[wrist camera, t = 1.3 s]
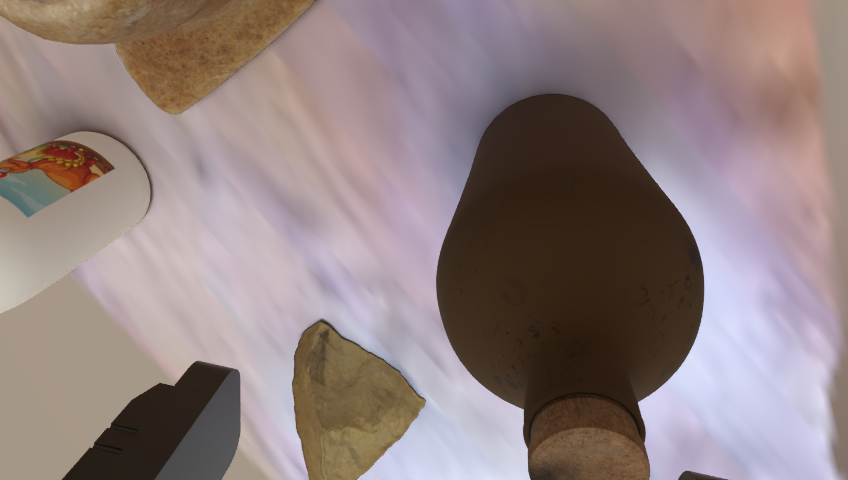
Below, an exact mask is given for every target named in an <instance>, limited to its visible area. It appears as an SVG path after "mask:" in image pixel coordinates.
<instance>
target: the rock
mask: <svg viewBox="0 0 848 480" xmlns="http://www.w3.org/2000/svg"><path fill="white" fill-rule="evenodd" d="M292 391H293V395H294V404H295V405H294V411H295V420H296V429H297V433H298V435H299V438H300V439H301V444H302V451H303V455H304V460H305V464H306V468H307V471H308V476H309V480H357V479H358V478H359V477H360V476H361V475H363V474H364V473H365V472H367V471H368V470H369V469H370V468H371V467H372V466H373V465H374V463H375V462H376V461H377V460H378V459H379V458H380V457H381V456H382V455H384V453H385V452H386V450H387V449H388V448H390V447H391V446H392V445H393V444H394V443H395V442H397V441H398V440H400V439H401V437H402V436H403V435H404V433H405V432H406V431H407V429H408V428H409V426H410V424H411V423H412V422H413V421H414V420H415V419H416V418H417V417H418V414H419V412H420V410H421V409H422V408H424V406H425V402H426V401H425V399H423V398H421V397H419V396H418V395H417V394H416V393H415V392H414V391H413V389H412V388H411V387H410V386H409V385H408V383H407V381H406V380H405V379H404V378H403V377H402V376H401V375H400V372H399V371H397V370H395V369H393V368H392V367H391V366H389V365H388V364H387V363H385V361H383V360H382V359H379V358H377V357H376V356H375V355H373V354H371V353H367V352H366V351H364V350H363V349H361V348H360V347H359V346H358V345H356V344H354V343H352V342H350V341H346V340H344V339H342V338H341V337H340V336H339V335H338V334H337V333H336V332H335V331H333V330H332V328H331V327H329V326H328V325H326V324H324V323H322V322H319V323H317V324H315V325H314V326H313V327H310V328H309V329H307V330H306V331H305V332H304V333H303V334H302V336H301V338H300V340H299V343H298V347H297V349H296V351H295V355H294V378H293V381H292Z"/></svg>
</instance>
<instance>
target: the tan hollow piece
mask: <svg viewBox="0 0 848 480" xmlns="http://www.w3.org/2000/svg"><path fill="white" fill-rule="evenodd" d="M314 1H315V0H0V15H1V16H2V17H4V18H5V19H7V20H9V21H10V22H12V23H13V24H15V25H16V26H18V27H20V28H22V29H24V30H26V31H28V32H31V33H33V34H35V35H37V36H39V37H41V38H43V39H47V40H52V41H58V42H63V43H69V44H110V43H115V47H116V51H117V54H118V55H119V57H120V58H121V60H122V62H123V63H124V65H125V67H126V69H127V71H128V72H129V74H130V75H131V77H132V78H133V79H134V80H135V81H136V82H137V84H138V85H139V87H140V88H141V90H142V91H143V92H144V93H145V94H146V95H147V96H148V97H149V98H150V99H151V100H152V102H154V103H155V104H156V105H157V106H158V107H159V108H160V109H162V110H163V111H165V112H167V113H170V114H175V115H177V114H181V113H182V112H184V111H185V110H187V109H188V108H190V107H191V106H193V105H194V104H195V103H197V102H198V101H200V100H201V99H202V98H203V97H204V96H206V95H208V94H209V93H210V92H212V91H213V90H214V89H216V88H217V87H218V86H220V85H221V84H222V83H223V82H225V81H226V80H227V79H228V78H229V77H231V76H232V75H233V74H234V73H235V72H236V71H237V70H238V69H239V68H240V67H242V66H243V65H245V64H246V63H247V62H249V61H250V60H251V59H252V58H254V57H255V56H256V55H257V54H259V53H260V52H261V51H262V50H263V49H264V48H266V47H267V46H268V45H269V44H270V43H272V42H273V41H274V40H275V39H276V38H277V37H278V36H279V35H280V34H281V33H282V32H283V31H284V30H286V29H287V28H288V27H289V26H290V25H291V24H292V23H293V22H294V21H295V20H296V19H298V18H299V17H300V16H301V15H302V14H303V13H304V12H305V11H306V10H307V9H308V8H309V7H310V6H311V5H312V4H313V2H314Z"/></svg>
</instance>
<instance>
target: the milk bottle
mask: <svg viewBox="0 0 848 480" xmlns="http://www.w3.org/2000/svg"><path fill="white" fill-rule="evenodd" d="M150 194H151V191H150V183H149V180H148V177H147V174H146V172H145V170H144V168H143V166H142V164H141V163H140V162H139V160H138V159H137V157H136V156H135V155H134V154H133V153H132V152H131V151H130V150H129V149H128V148H127V147H126V146H124V145H123V144H121V143H120V142H119V141H117V140H115V139H113V138H111V137H109V136H106V135H103V134H100V133H95V132H88V131H80V132H75V133H71V134H68V135H65V136H62V137H60V138H57V139H55V140H52V141H50V142H47V143H45V144H42V145H40V146H37V147H35V148H32V149H30V150H28V151H25V152H23V153H20V154H18V155H15V156H13V157H10V158H8V159H6V160H3V161H1V162H0V313H2V312H4V311H7V310H9V309H12V308H14V307H16V306H18V305H19V304H21V303H23V302H25V301H27V300H28V299H30V298H31V297H33V296H35V295H36V294H38V293H39V292H41V291H42V290H44V289H45V288H47V287H49V286H50V285H52V284H53V283H55V282H56V281H57V280H59V279H60V278H62V277H63V276H65V275H66V274H68V273H69V272H70V271H72V270H73V269H75V268H76V267H78V266H79V265H80V264H82V263H83V262H85V261H86V260H88V259H89V258H90V257H92V256H93V255H95V254H96V253H97V252H99V251H100V250H102V249H103V248H104V247H106V246H107V245H109V244H110V243H111V242H113V241H114V240H116V239H117V238H118V237H120V236H121V235H123V234H124V233H125V232H127V231H128V230H129V229H131V228H132V227H133V226H135V225H136V224H137V223H138V222H139V221H140V220H141V219H142V218H143V217H144V215H145V214H146V212H147V209H148V206H149V203H150Z"/></svg>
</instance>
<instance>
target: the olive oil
mask: <svg viewBox="0 0 848 480" xmlns="http://www.w3.org/2000/svg"><path fill="white" fill-rule="evenodd" d="M436 289H437V300H438V306H439V311H440V315H441V318H442V322H443V325H444V328H445V331H446V334H447V336H448V339H449V341H450V343H451V345H452V347H453V349H454V351H455V353H456V355H457V356H458V358H459V359H460V361H461V362H462V364H463V365H464V366H465V368H466V369H467V370H468V371H469V372H470V374H471V375H472V376H473V377H474V378H475V379H476V380H477V381H478V382H479V383H480V384H482V385H483V386H484V387H485V388H487V389H488V390H489V391H491V392H492V393H493V394H495V395H496V396H498V397H499V398H501V399H503V400H505V401H507V402H509V403H511V404H513V405H515V406H517V407H519V408H522V409H524V426H523V436H524V440H525V443H526V446H527V448H528V472H529V476H530V479H531V480H649V477H650V464H649V460H648V456H647V452H646V448H645V445H644V442H645V436H646V431H645V425H644V422H643V419H642V417H641V413H640V409H639V406H638V402H639V401H641V400H642V399H644V398H646V397H647V396H649V395H650V394H652V393H653V392H655V391H656V390H657V389H659V388H660V387H661V386H662V385H663V384H664V383H665V382H667V381H668V380H669V379H670V377H671V376H672V375H673V374H674V373H675V372H676V371H677V370H678V369H679V367H680V366H681V365H682V363H683V362H684V360H685V359H686V357H687V355H688V354H689V352H690V350H691V348H692V346H693V344H694V342H695V339H696V336H697V333H698V330H699V327H700V323H701V318H702V312H703V303H704V274H703V266H702V261H701V257H700V253H699V249H698V246H697V243H696V241H695V239H694V236H693V234H692V232H691V230H690V228H689V226H688V224H687V223H686V221H685V219H684V218H683V216H682V215H681V213H680V212H679V211H678V209H677V208H676V207H675V205H674V204H673V203H672V202H671V200H670V199H669V198H668V197H667V195H666V194H665V193H664V192H663V190H662V189H661V188H660V187H659V185H658V184H657V183H656V182H655V180H654V179H653V178H652V177H651V175H650V174H649V173H648V172H647V170H646V169H645V168H644V166H643V165H642V164H641V163H640V161H639V160H638V159H637V157H636V156H635V155H634V153H633V152H632V151H631V149H630V148H629V147H628V145H627V144H626V142H625V141H624V139H623V138H622V136H621V135H620V133H619V132H618V130H617V129H616V127H615V126H614V125H613V123H612V122H611V121H610V120H609V118H608V117H607V116H606V115H605V114H604V113H603V112H601V111H600V110H599V109H598V108H596V107H595V106H593V105H592V104H590V103H588V102H586V101H584V100H581V99H578V98H575V97H572V96H567V95H560V94H546V95H539V96H534V97H530V98H527V99H524V100H522V101H519V102H517V103H515V104H514V105H512V106H510V107H509V108H507V109H506V110H504V111H503V112H502V113H501V114H500V115H498V116H497V117H496V118H495V119H494V120H493V122H492V123H491V124H490V125H489V127H488V128H487V130H486V131H485V133H484V135H483V137H482V139H481V141H480V143H479V146H478V149H477V152H476V155H475V158H474V162H473V165H472V168H471V171H470V174H469V177H468V179H467V182H466V185H465V187H464V190H463V193H462V196H461V198H460V201H459V204H458V206H457V209H456V211H455V214H454V216H453V219H452V221H451V224H450V226H449V229H448V231H447V234H446V236H445V239H444V242H443V245H442V248H441V252H440V256H439V260H438V266H437V276H436Z"/></svg>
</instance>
